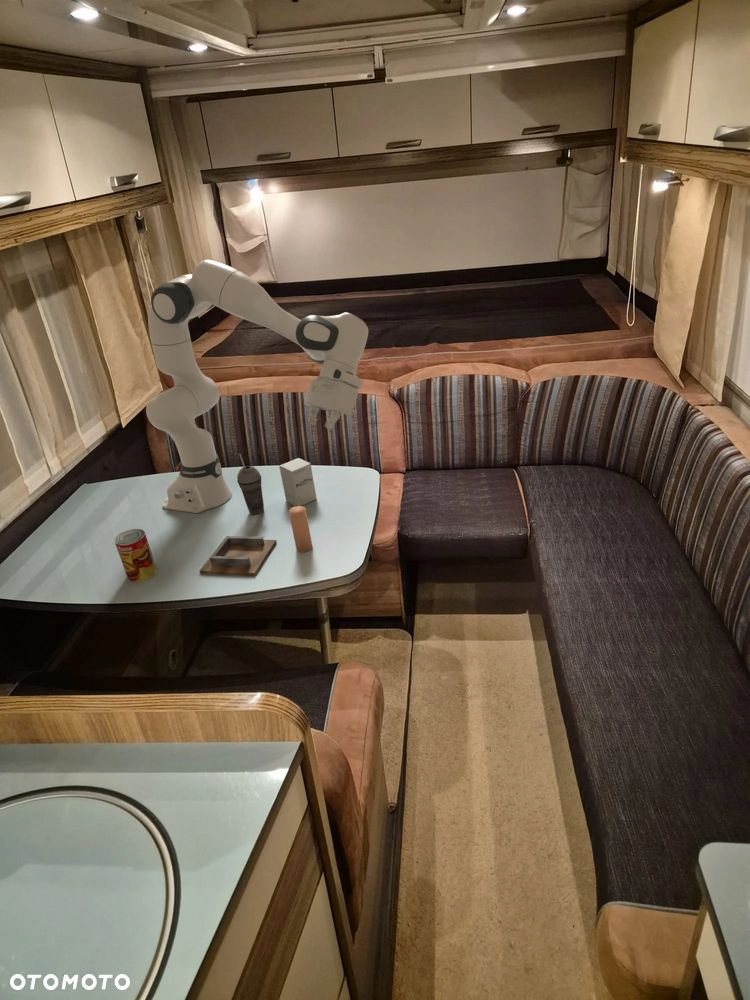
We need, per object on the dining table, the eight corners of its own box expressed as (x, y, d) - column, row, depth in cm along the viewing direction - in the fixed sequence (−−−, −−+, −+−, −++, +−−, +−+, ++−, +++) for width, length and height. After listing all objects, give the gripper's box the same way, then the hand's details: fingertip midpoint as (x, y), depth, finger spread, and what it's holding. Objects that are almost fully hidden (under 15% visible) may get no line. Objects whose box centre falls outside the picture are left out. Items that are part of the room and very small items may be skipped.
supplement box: (298, 508, 197) (291, 471, 191) (285, 500, 203) (278, 465, 197) (317, 499, 201) (311, 463, 195) (304, 492, 207) (298, 456, 201)
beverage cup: (263, 518, 194) (250, 458, 185) (241, 518, 196) (227, 459, 186) (271, 506, 200) (259, 448, 191) (250, 506, 202) (236, 448, 193)
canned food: (122, 576, 175) (108, 538, 169) (148, 562, 179) (135, 525, 174) (136, 585, 170) (123, 547, 164) (162, 571, 174) (150, 534, 169)
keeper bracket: (200, 573, 171) (197, 563, 169) (225, 541, 185) (222, 531, 183) (255, 576, 167) (252, 565, 165) (276, 542, 181) (274, 532, 179)
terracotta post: (294, 552, 175) (286, 514, 170) (299, 543, 179) (292, 505, 173) (309, 552, 174) (302, 514, 169) (314, 543, 178) (307, 506, 172)
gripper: (308, 369, 173) (292, 417, 174) (346, 373, 157) (328, 426, 157) (327, 378, 177) (311, 425, 177) (366, 382, 160) (348, 435, 161)
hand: (319, 426), depth 167 cm, fingers open, 8 cm apart
